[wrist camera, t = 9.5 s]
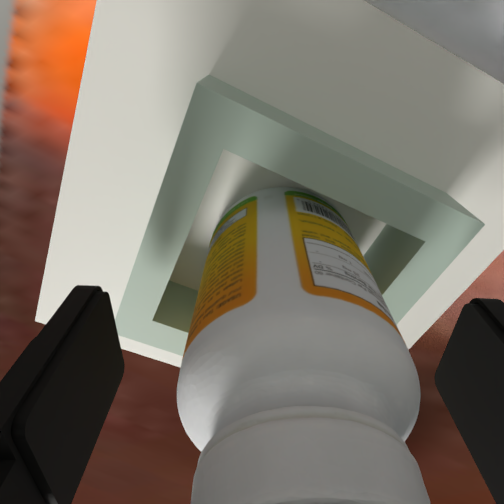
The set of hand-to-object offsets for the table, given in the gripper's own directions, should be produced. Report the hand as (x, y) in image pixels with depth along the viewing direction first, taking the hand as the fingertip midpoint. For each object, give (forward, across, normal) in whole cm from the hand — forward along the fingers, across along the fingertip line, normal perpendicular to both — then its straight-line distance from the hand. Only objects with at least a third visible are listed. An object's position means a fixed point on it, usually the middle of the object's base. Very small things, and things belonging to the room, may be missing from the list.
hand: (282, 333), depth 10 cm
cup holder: (+6, 0, 0) cm, 6 cm away
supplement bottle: (+5, 0, 0) cm, 5 cm away
